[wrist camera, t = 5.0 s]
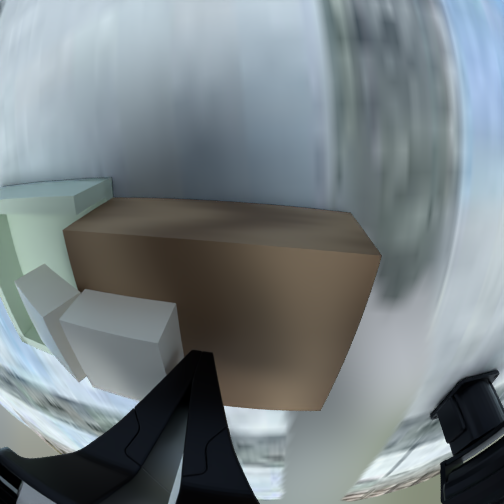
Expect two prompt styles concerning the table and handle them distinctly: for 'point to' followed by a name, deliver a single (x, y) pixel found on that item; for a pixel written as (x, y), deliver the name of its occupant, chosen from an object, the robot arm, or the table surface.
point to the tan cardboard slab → (239, 286)
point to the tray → (40, 236)
